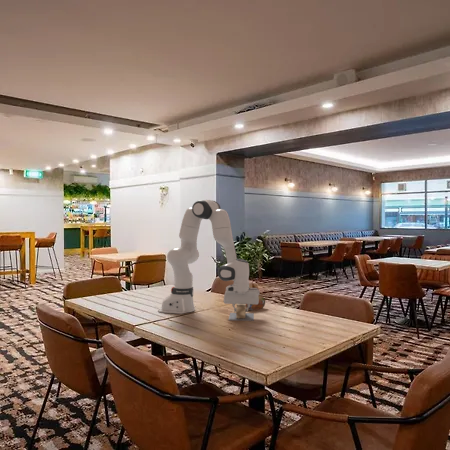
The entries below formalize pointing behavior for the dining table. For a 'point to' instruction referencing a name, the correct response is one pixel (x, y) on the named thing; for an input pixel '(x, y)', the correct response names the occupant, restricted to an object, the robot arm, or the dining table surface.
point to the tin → (257, 306)
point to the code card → (247, 318)
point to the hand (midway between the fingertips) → (241, 311)
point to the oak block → (240, 310)
